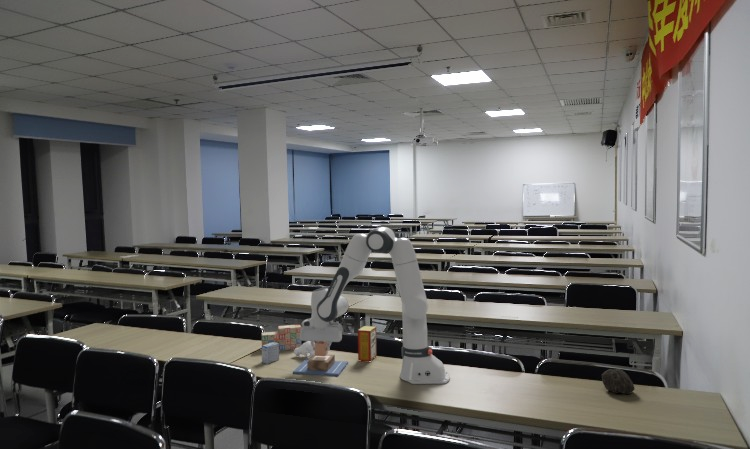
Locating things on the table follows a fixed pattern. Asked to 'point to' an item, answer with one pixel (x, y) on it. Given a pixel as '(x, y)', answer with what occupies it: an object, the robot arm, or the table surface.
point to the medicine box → (270, 352)
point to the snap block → (321, 348)
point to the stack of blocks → (284, 337)
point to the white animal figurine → (305, 350)
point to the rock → (617, 381)
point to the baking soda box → (367, 343)
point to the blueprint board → (312, 372)
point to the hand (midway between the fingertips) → (321, 350)
